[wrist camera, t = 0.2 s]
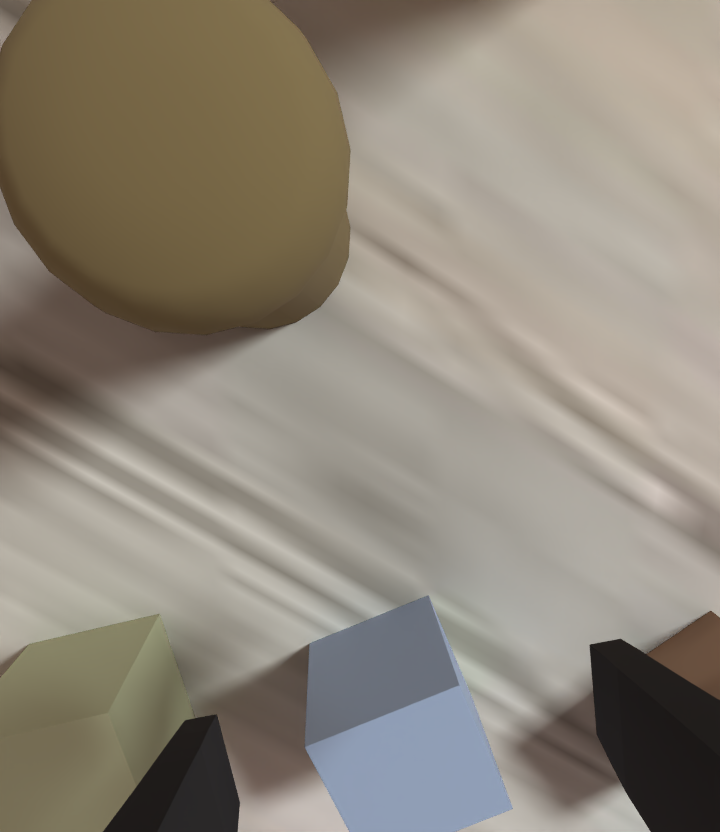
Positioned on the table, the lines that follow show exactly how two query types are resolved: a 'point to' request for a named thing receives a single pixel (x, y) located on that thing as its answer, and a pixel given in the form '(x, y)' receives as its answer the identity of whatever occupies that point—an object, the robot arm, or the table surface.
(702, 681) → the walnut cube
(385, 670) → the slate blue cube
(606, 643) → the robot arm
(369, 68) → the table surface
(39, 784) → the olive cube
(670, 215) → the table surface
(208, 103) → the cork
